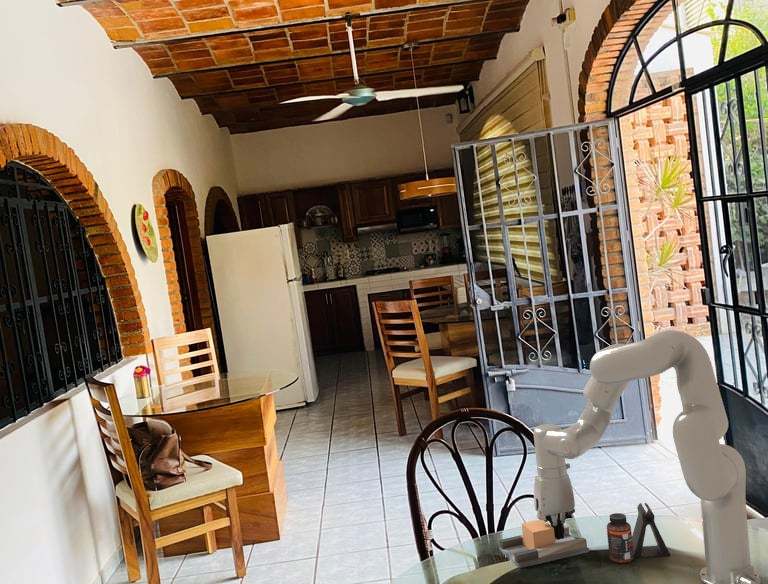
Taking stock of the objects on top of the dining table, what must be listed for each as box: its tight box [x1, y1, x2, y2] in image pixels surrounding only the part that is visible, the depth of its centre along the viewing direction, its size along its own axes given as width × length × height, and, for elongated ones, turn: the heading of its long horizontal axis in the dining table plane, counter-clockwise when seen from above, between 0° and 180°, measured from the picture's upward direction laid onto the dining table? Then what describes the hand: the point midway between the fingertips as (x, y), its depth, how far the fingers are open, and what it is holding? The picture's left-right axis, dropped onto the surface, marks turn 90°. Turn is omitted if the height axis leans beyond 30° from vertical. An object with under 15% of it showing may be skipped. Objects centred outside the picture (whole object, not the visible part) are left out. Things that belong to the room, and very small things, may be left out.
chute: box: [498, 524, 590, 569], centre depth 198 cm, size 13×20×3 cm, turn 104°
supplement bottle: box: [606, 512, 635, 564], centre depth 187 cm, size 6×6×11 cm
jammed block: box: [521, 519, 555, 550], centre depth 197 cm, size 7×6×6 cm
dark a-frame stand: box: [632, 502, 671, 559], centre depth 189 cm, size 9×6×12 cm, turn 82°
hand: (558, 537), depth 199 cm, fingers closed
